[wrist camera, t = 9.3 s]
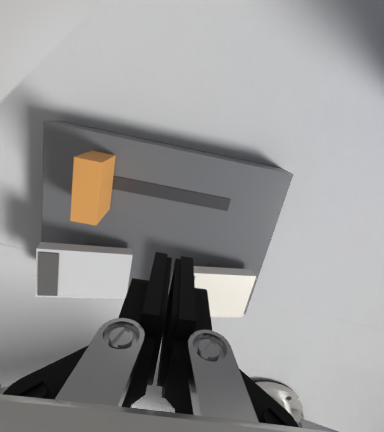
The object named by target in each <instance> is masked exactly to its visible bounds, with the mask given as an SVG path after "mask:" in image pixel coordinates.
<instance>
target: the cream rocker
mask: <svg viewBox="0 0 384 432" xmlns="http://www.w3.org/2000/svg"><path fill="white" fill-rule="evenodd" d="M173 269H174V268H173ZM172 274H173V273H172ZM171 279H172V277H171ZM255 279H256V275H255V274H254V273H253V271H252V270H251V269H237V268H220V267H203V266H194V285H195V288H200V289H206V290H207V293H208V301H209V309H210V317H243V314H244V311H245V308H246V305H247V302H248V299H249V296H250V293H251V290H252V287H253V285H254V282H255ZM170 284H171V282H170ZM169 289H170V287H169ZM168 294H169V293H168Z"/></svg>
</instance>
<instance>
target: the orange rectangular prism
mask: <svg viewBox="0 0 384 432" xmlns="http://www.w3.org/2000/svg"><path fill="white" fill-rule="evenodd" d="M115 158H116V155H112V154H107V153H102V152H97V151H93V150H92V151H89V152H86V153H84V154H81V155H78V156H75V157H74V165H73V182H72V199H71V216H70V221H74V222H79V223H85V224H90V225H97V224H98V223H99V222H100V220H101V219H102V218H103V217H104V216H105V214H106V213H107V212H108V211H109V209H110V203H111V194H112V185H113V176H114V167H115Z"/></svg>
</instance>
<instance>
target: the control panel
mask: <svg viewBox="0 0 384 432" xmlns="http://www.w3.org/2000/svg"><path fill="white" fill-rule="evenodd" d="M92 150H93V151H97V152H102V153H107V154H112V155H116V158H115V167H114V176H113V185H112V194H111V203H110V209H109V211H108V212H107V213H106V214H105V216H104V217H103V218H102V219H101V220H100V222H99V223H98V224H97V225H90V224H85V223H79V222H74V221H70V216H71V199H72V182H73V165H74V157H75V156H78V155H81V154H84V153H86V152H89V151H92ZM292 177H293V174H292V173H290V172H288V171H286V170H284V169H282V168H277V167H273V166H268V165H263V164H259V163H254V162H249V161H245V160H240V159H235V158H231V157H226V156H221V155H217V154H212V153H207V152H203V151H198V150H193V149H189V148H184V147H179V146H174V145H170V144H165V143H160V142H156V141H151V140H146V139H142V138H137V137H132V136H128V135H123V134H118V133H114V132H109V131H104V130H100V129H95V128H90V127H86V126H81V125H76V124H72V123H67V122H62V121H44V146H43V198H42V242H48V243H62V244H76V245H89V246H103V247H117V248H131V249H132V250H133V257H132V263H131V270H130V276H129V283H128V289H129V286H130V283H131V280H132V278H136V279H142V280H149V279H150V275H151V270H152V266H153V262H154V257H155V253H156V252H160V253H167V254H168V256H167V257H171V258H172V263H171V273H170V282H171V277H172V273H173V268H174V264H175V259H176V258H177V259H180V257H181V256H185V257H191V258H193V265H194V266H203V267H220V268H237V269H251V270H252V271H253V273H254V274H255V275H256V279H255V282H254V285H253V287H252V290H251V293H250V296H249V299H248V302H247V305H246V308H245V311H244V314H245V313H246V310H247V307H248V305H249V302H250V299H251V296H252V293H253V290H254V287H255V284H256V281H257V278H258V275H259V273H260V270H261V267H262V264H263V261H264V258H265V255H266V252H267V249H268V246H269V243H270V241H271V238H272V235H273V232H274V229H275V226H276V223H277V220H278V217H279V214H280V211H281V209H282V206H283V203H284V200H285V197H286V194H287V191H288V188H289V185H290V182H291V179H292ZM169 287H170V283H169ZM127 292H128V290H127Z"/></svg>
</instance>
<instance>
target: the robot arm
mask: <svg viewBox="0 0 384 432" xmlns="http://www.w3.org/2000/svg"><path fill="white" fill-rule="evenodd" d="M167 256H168V254H167V253H160V252H156V253H155V257H154V262H153V266H152V270H151V275H150V279H149V280H142V279H136V278H132V280H131V283H130V286H129V289H128V292H127V295H126V298H125V301H124V304H123V306H122V309H121V312H120V315H119V318H117V319H113V320H110V321H108V322H106V323H105V324H103V326H102V327H101V328H100V329H99V330H98V332H97V334H96V335H95V337H94V338H93V340H92V341H91V343H90V345H89V346H87V347H84V348H82V349H80V350H78V351H76V352H74V353H72V354H70V355H68V356H66V357H64V358H62V359H60V360H58V361H56V362H54V363H52V364H50V365H48V366H46V367H44V368H42V369H40V370H37V371H35V372H33V373H31V374H29V375H27V376H25V377H23V378H21V379H20V380H18V381H16V382H15V383H13V384H12V385H11V386H10V387H6V388H1V384H0V432H338V431H335V430H332V429H330V428H327V427H324V426H321V425H318V424H316V423H313V422H310V421H307V420H304V419H302V418H303V408H302V405H301V403H300V400H299V398H298V396H297V395H296V394H295V393H294V392H293V391H292V390H291V389H289V388H288V387H286V386H284V385H281V384H278V383H274V382H254V381H253V380H251V379H250V378H249V377H248V376H247V375H246V374H245V373H243V372H242V371H241V370H240V369H239V367H238V365H237V362H236V359H235V357H234V354H233V351H232V348H231V346H230V344H229V342H228V341H227V340H226V339H225V338H224V337H223V336H222V335H220V334H219V333H217V332H214V331H212V325H211V317H210V309H209V301H208V293H207V290H206V289H200V288H195V285H194V265H193V258H191V257H185V256H181V257H180V259H177V258H176V259H175V264H174V269H173V274H172V279H171V284H170V289H169V283H170V273H171V263H172V258H171V257H167ZM168 293H169V294H168ZM161 340H162V344H161ZM160 345H161V353H160V362H159V371H158V380H157V386H162V398H166V399H167V401H168V402H169V403H170V404H171V405H172V409H171V412H163V411H155V410H146V409H137V408H132V405H133V403H134V402H136V401H137V400H138V399H140V398H141V397H142V396H144V395H145V392H146V387H147V385H152V384H153V379H154V374H155V369H156V364H157V359H158V354H159V350H160Z"/></svg>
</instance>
